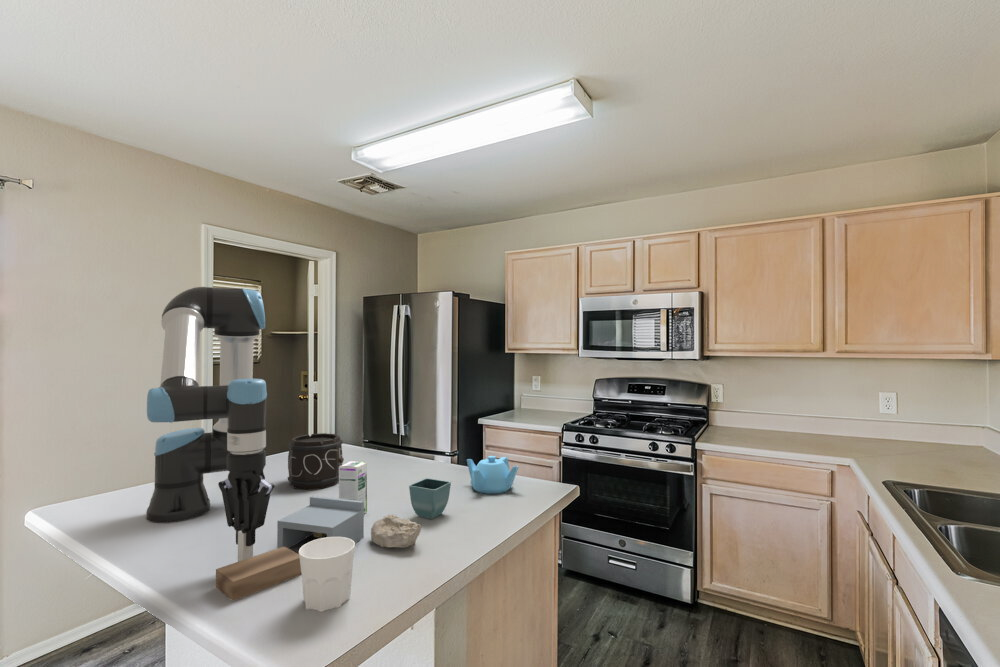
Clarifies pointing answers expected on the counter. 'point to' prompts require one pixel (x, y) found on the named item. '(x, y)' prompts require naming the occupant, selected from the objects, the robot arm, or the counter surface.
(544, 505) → the counter surface
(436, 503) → the flower pot
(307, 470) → the coffee canister
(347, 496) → the syrup box
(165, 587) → the counter surface
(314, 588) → the cup
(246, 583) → the board
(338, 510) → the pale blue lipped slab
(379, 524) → the stone
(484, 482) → the teapot
